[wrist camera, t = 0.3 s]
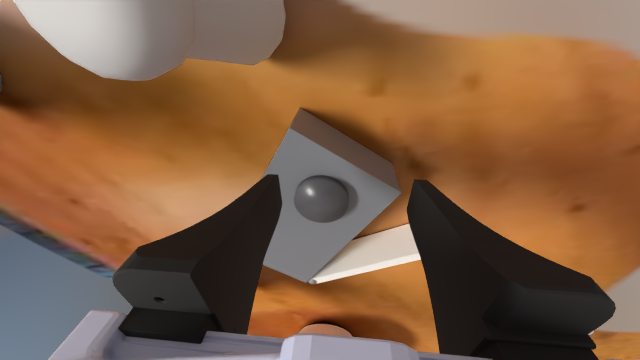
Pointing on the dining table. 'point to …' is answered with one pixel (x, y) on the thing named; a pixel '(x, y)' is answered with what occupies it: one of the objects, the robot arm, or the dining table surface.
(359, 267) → the door
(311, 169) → the camera housing
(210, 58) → the salt shaker
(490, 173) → the dining table surface
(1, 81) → the bottle
